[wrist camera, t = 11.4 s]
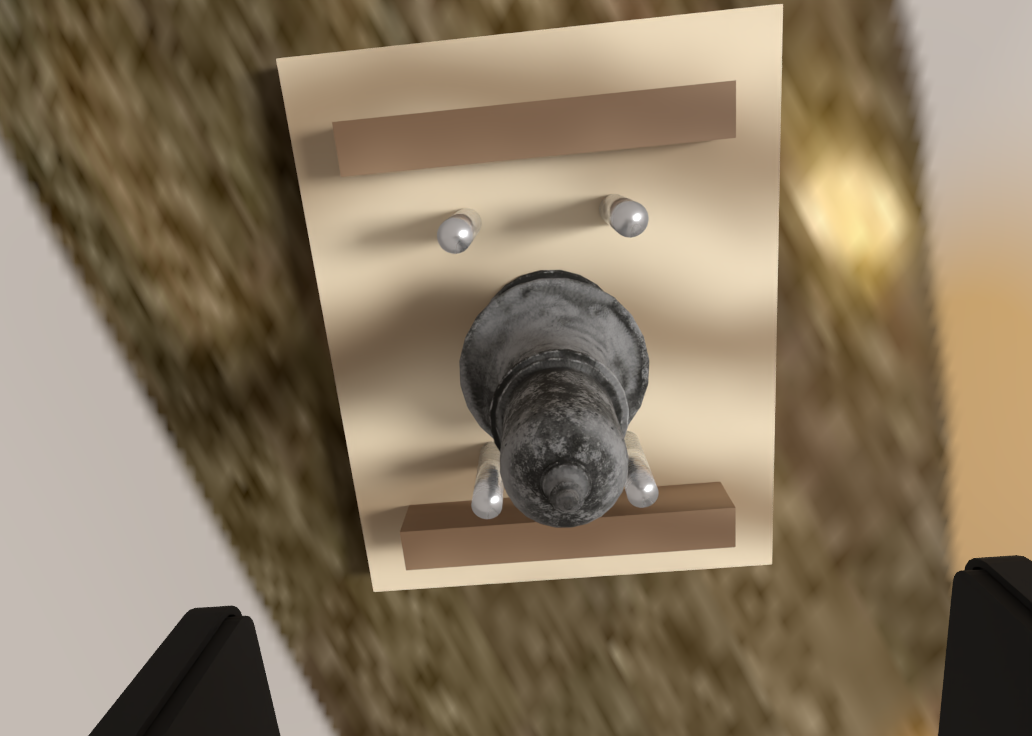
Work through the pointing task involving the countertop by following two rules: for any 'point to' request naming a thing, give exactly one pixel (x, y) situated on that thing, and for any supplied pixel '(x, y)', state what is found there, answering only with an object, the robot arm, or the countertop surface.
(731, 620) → the countertop surface
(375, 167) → the pin stand
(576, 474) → the weathered chess pawn
